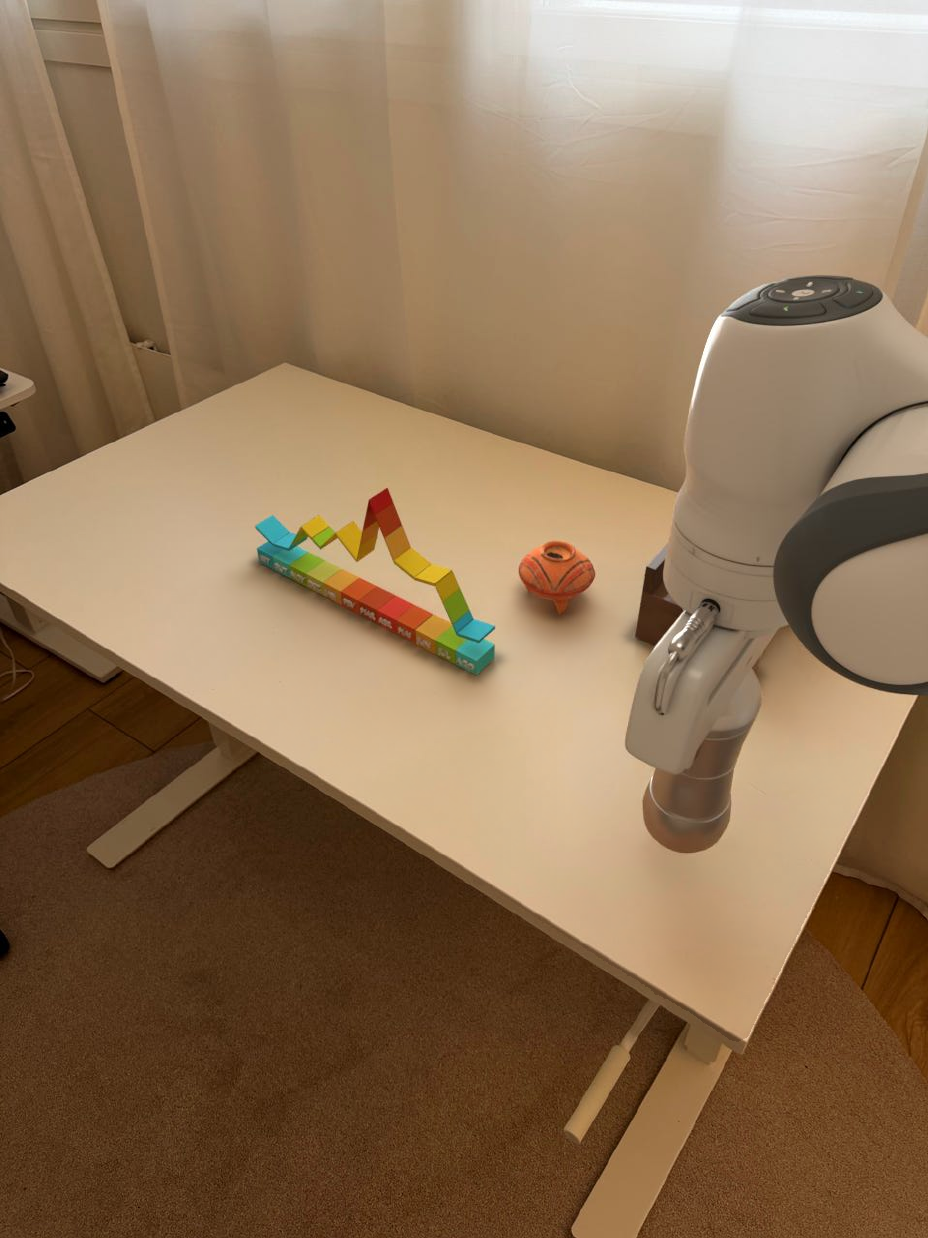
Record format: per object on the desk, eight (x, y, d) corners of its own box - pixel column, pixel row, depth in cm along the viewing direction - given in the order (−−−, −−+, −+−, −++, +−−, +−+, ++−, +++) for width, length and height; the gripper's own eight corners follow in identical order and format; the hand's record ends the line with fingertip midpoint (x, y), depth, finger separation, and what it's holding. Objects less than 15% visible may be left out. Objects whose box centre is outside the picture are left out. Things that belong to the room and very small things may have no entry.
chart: (257, 563, 100) (234, 444, 90) (278, 549, 102) (258, 431, 92) (475, 677, 86) (475, 551, 76) (494, 659, 88) (497, 533, 78)
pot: (508, 613, 93) (511, 553, 89) (526, 584, 99) (530, 527, 96) (584, 626, 91) (590, 565, 87) (597, 595, 97) (603, 537, 94)
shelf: (806, 598, 95) (828, 528, 89) (747, 685, 85) (768, 613, 79) (700, 559, 100) (715, 490, 94) (634, 637, 90) (645, 566, 84)
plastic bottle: (623, 839, 68) (654, 645, 55) (662, 781, 72) (699, 588, 59) (702, 880, 65) (754, 685, 52) (738, 817, 69) (794, 623, 57)
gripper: (721, 685, 45) (683, 850, 54) (850, 500, 57) (801, 658, 66) (609, 638, 47) (590, 802, 56) (755, 471, 60) (721, 627, 69)
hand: (705, 723), depth 61 cm, fingers closed on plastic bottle, 6 cm apart
